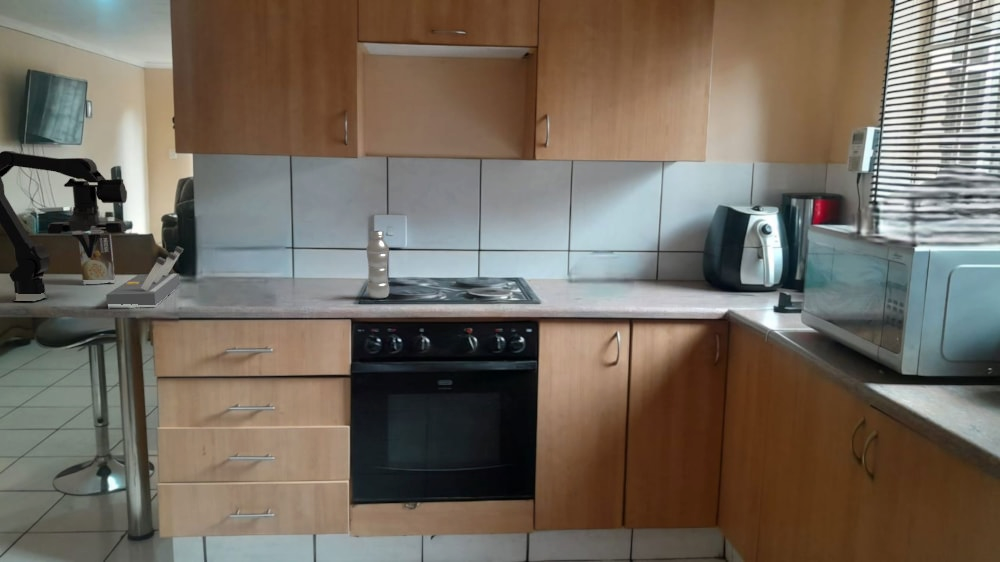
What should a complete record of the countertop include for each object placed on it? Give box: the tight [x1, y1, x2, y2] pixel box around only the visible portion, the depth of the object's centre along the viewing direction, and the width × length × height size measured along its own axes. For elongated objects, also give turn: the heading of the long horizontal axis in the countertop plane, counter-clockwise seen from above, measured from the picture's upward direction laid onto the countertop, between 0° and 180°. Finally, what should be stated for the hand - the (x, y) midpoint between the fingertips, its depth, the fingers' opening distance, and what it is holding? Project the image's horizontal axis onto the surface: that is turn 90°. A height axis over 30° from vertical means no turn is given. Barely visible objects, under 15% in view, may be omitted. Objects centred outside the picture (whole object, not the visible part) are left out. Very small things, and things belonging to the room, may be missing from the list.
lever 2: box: [163, 245, 185, 276], centre depth 225 cm, size 2×3×10 cm
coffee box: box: [78, 232, 116, 281], centre depth 233 cm, size 9×6×16 cm
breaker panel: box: [105, 273, 181, 305], centre depth 212 cm, size 12×35×4 cm, turn 14°
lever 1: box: [141, 256, 167, 291], centre depth 200 cm, size 2×3×10 cm
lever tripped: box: [154, 251, 177, 283], centre depth 212 cm, size 2×3×10 cm
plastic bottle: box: [365, 230, 390, 300], centre depth 212 cm, size 6×7×20 cm
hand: (90, 257), depth 206 cm, fingers closed
